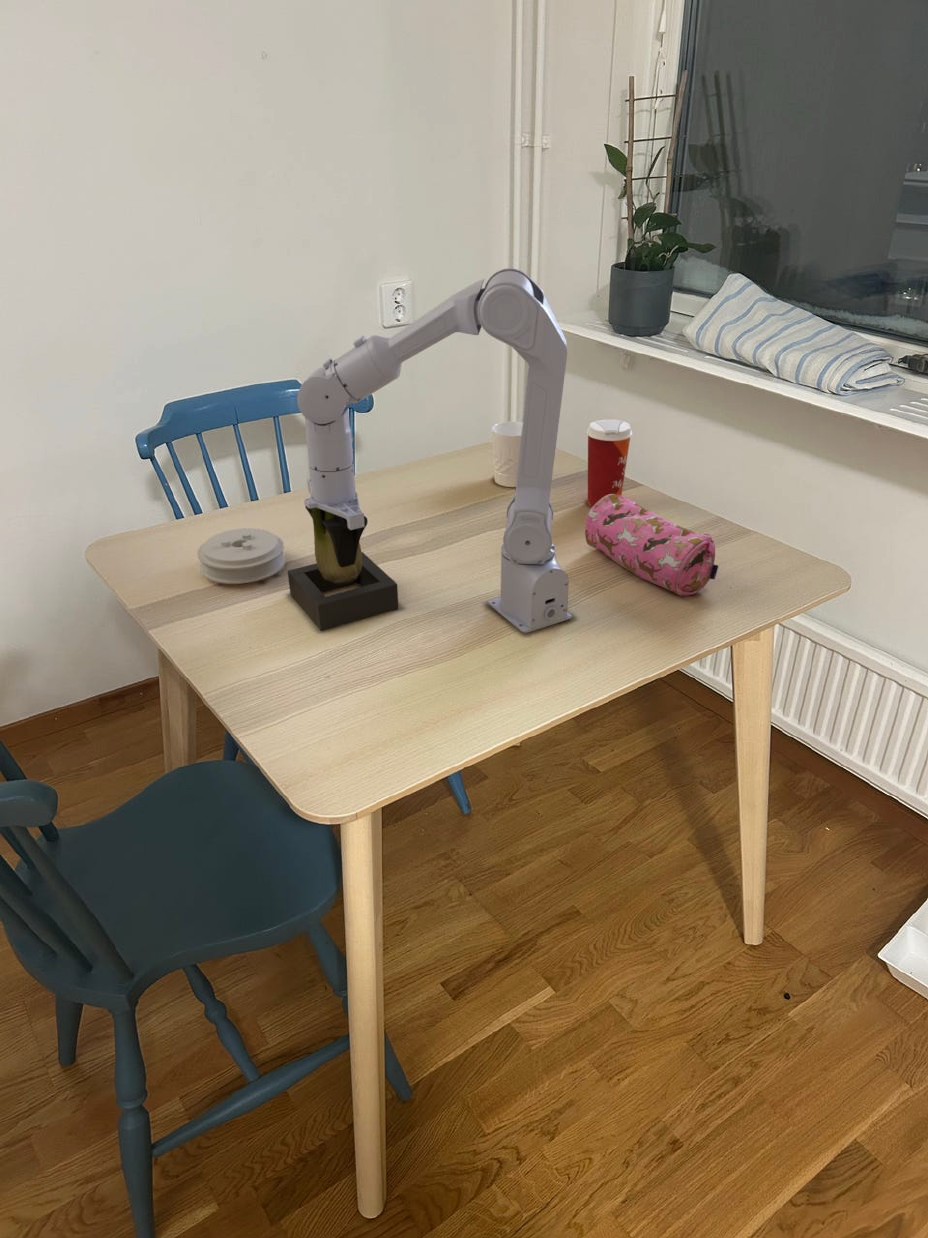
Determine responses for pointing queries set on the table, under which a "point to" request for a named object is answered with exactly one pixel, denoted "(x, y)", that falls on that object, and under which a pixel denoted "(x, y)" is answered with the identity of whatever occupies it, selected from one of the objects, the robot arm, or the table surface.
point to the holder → (343, 595)
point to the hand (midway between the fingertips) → (339, 557)
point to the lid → (241, 556)
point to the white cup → (506, 452)
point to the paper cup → (607, 457)
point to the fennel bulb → (331, 553)
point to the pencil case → (651, 545)
